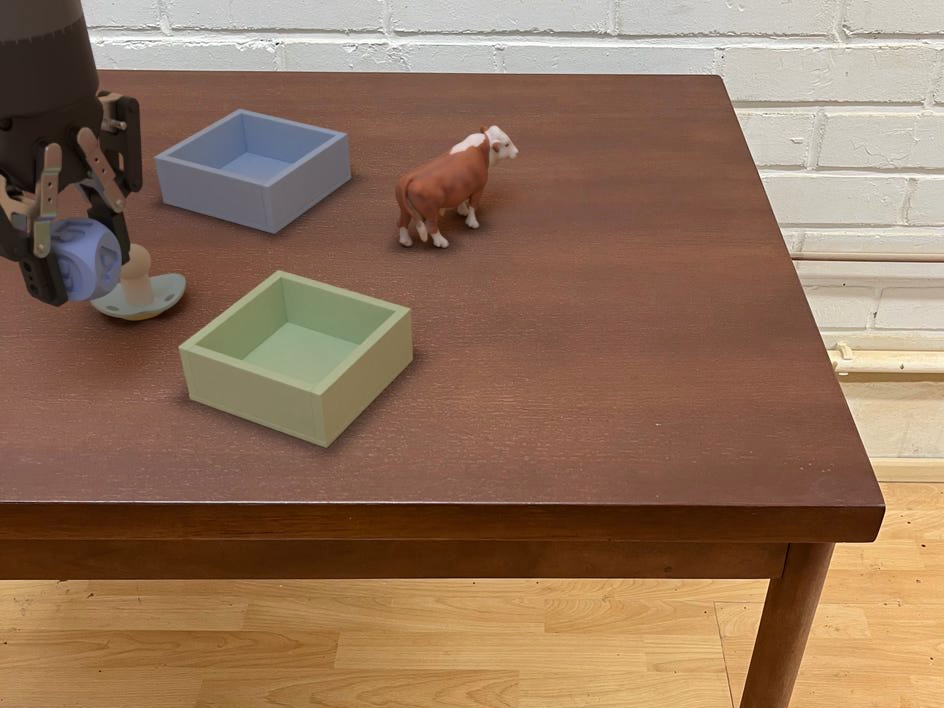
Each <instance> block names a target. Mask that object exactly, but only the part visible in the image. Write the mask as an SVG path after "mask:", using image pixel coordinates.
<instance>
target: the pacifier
mask: <svg viewBox="0 0 944 708" xmlns="http://www.w3.org/2000/svg"><path fill="white" fill-rule="evenodd" d="M130 243H131V245H130V252H129V256H130V261H129V262H128V263H126V264H125V265H123V266H122V267H121V274H120V278H119V281H120V282H118V283H117V285H116V287H115V288H114V289H113V290H112V291H111V292H110V293H109V294H107V295H105V296H103V297H101V298H98V299H95V300H90V301H89V303H90V304H91V306H92V307H94V308H95V309H96V310H97V311H99V312H101V313H102V314H105V315H107V316H110V317H114V318H120V319H121V318H122V319H123V320H127V321H142V320H147V319H148V320H149V319H151V318H154V317H157V316H159V315H161V314H162V313H163V312H164V311H166V310H168V309H170V308H172V307H174V305H176V304H177V303H178V302H179V301H180V299H182V297H183V295H184V293H185V291H186V288H187V282H186V278H185V276H184V275H182V274H181V273H174V272H171V273H165V274H164V273H163V274H160V275H154V276H150V275H149V270H150V268H151V265H152V258H151V255H150V253H149V251H148V249H146V247H144V246H142V245H141V244H137V243H132V242H130Z"/></svg>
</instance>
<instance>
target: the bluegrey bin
mask: <svg viewBox="0 0 944 708" xmlns="http://www.w3.org/2000/svg"><path fill="white" fill-rule="evenodd" d="M348 135H349V134H348V133H346V132H342V131H337V130H333V129H330V128H325V127H320V126H317V125H311V124H308V123H302V122H298V121H295V120H291V119H287V118H286V119H285V118H282V117H276V116H272V115H269V114H264V113H259V112H255V111H251V110H247V109H243V108H238V109H236V110H235V111H233V112H230V113H229V114H228V115H225V116H224V117H222V118H220V119H218V120H217V121H214V122H213V123H212V124H210V125H208V126H206V127H205V128H202V129H201V130H199V131H197V132H195V133H193V134H192V135H190V136H189V137H186V138H185V139H183V140H182V141H179V142H177V143H176V144H174V145H172V146H170V147H169V148H167V149H166V150H164V151H162V152H160V153H158V154H157V155H155V156H154V157H153V160H154V164H155V165H154V166H155V169H156V174H157V178H158V179H157V180H158V183H159V188H160V193H161V196H162V201H163V204H166V205H170V206H172V207H176V208H179V209H184V210H187V211H191V212H194V213H197V214H201V215H206V216H208V217H212V218H215V219H219V220H223V221H227V222H231V223H234V224H237V225H239V226H240V225H241V226H244V227H248V228H252V229H255V230H258V231H262V232H265V233H269V234H273V235H275V234H277V233H279V231H281V230H282V229H284V228H285V227H287V226H288V225H289V224H291V223H292V222H294V220H296V219H298V218H299V217H300V216H301V215H303V214H304V213H306V212H307V211H309V210H310V209H312V208H313V207H314V206H315V205H317V204H318V203H320V202H321V201H323V200H324V199H325V198H327V197H328V196H329V195H331V194H332V193H333V192H335V191H336V190H337V189H339V188H341V186H343V185H344V184H346V183H347V182H348V181H350V180H352V174H351V173H352V171H351V159H350V149H349V148H350V147H349V136H348Z"/></svg>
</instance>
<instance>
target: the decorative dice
mask: <svg viewBox="0 0 944 708" xmlns="http://www.w3.org/2000/svg"><path fill="white" fill-rule="evenodd" d="M50 251H52V252H55V255H56V258H57V262H58V265H59V269H60V272H61V275H62V279H63V282H64V286H65V289H66V292H67V296H68V301H69V302H77V303H79V302H90V300H95V299H98V298H101V297H103V296H105V295H107V294H109V293H110V292H111V291H112V290H113V289H114V288H115V287H116V285H117V283H119V281H120V274H121V267H122V256H121V249H120V245H119V242H118V240H117V238H116V237H115V235H114V234H113V233H112V232H111V231H110V230H109V229H108V228H107V227H106V226H104V225H103V224H101V223H100V222H98V221H96V220H94V219H90V218H88V217H84V216H76V217H75V216H74V217H73V216H72V217H66V218H62V219H58V220H55V221H53V222H51V245H50Z"/></svg>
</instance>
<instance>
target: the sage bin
mask: <svg viewBox="0 0 944 708" xmlns="http://www.w3.org/2000/svg"><path fill="white" fill-rule="evenodd" d="M412 324H413V323H412V307H411V308H410V307H407V306H404V305H401V304H396V303H393V302H390V301H387V300H384V299H379V298H376V297H373V296H369V295H366V294H363V293H359V292H356V291H352V290H350V289H346V288H342V287H338V286H335V285H332V284H328V283H325V282H322V281H319V280H315V279H312V278H308V277H305V276H301V275H297V274H294V273H290V272H287V271H284V270H281V269H278V270H276V271H275V272H274V273H272V274H271V275H270V276H268V277H267V278H266V279H264V280H263V281H262V282H261V283H259V284H258V285H257V286H255V287H254V288H252V289H251V290H250V291H249V292H247V293H246V294H245V295H244V296H242V297H241V298H240V299H238V300H237V301H235V302H234V303H233V304H231V306H230V307H228V308H227V309H225V310H224V311H223V312H222V313H220V314H219V315H218V316H217V317H215V318H214V319H212V320H211V321H210V322H209V323H207V324H206V325H204V327H202V328H201V329H200V330H198V331H197V332H195V333H194V334H192V336H190V337H189V338H188V339H186V340H184V342H182V343H181V344H180V345H179V346H178V348H177V349H178V353H179V357H180V362H181V365H182V370H183V375H184V379H185V383H186V388H187V392H188V397H189V400H191V401H193V402H196V403H199V404H203V405H205V406H207V407H210V408H214V409H216V410H219V411H222V412H224V413H227V414H230V415H233V416H235V417H239V418H241V419H244V420H247V421H250V422H253V423H255V424H258V425H260V426H263V427H266V428H269V429H271V430H275V431H278V432H280V433H283V434H286V435H288V436H291V437H294V438H296V439H300V440H302V441H305V442H308V443H311V444H313V445H316V446H319V447H322V448H324V449H328V448H329V447H330V446H331V444H332V443H334V441H335V440H336V439H338V438H339V437H340V435H341V434H343V433H344V431H345V430H346V429H347V428H348V427H349V426H350V425H351V424H352V423H353V422H354V421H355V420H356V419H358V417H360V415H361V414H362V413H363V412H364V411H365V410H366V409H367V408H368V407H369V406H370V405H371V404H372V403H373V401H375V400H376V399H377V398H378V397H379V396H380V395H381V393H383V391H384V390H385V389H386V388H387V387H388V386H390V384H391V383H392V382H393V381H394V380H395V379H396V378H397V377H398V376H399V375H400V374H401V373H402V372H403V371H404V370H405V369H407V367H408V366H409V365H410V364H411V363H412V361H414V346H413V326H412Z"/></svg>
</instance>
